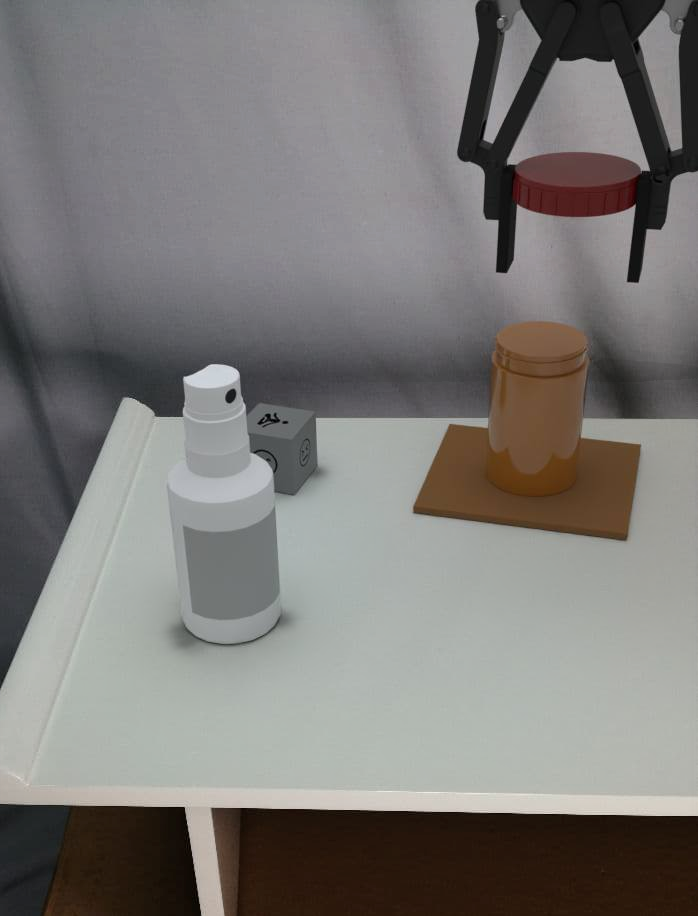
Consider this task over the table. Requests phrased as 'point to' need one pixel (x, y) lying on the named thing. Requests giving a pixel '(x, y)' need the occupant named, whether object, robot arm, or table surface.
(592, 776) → the table surface
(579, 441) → the jar
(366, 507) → the table surface
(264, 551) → the spray bottle
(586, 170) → the lid
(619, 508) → the mat
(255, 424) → the gray cube
